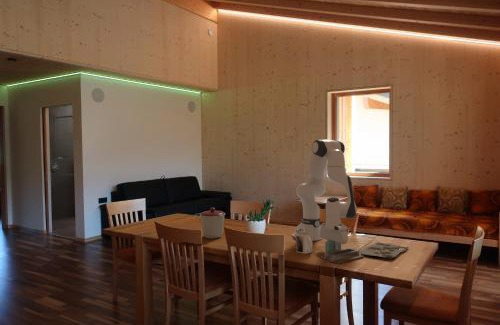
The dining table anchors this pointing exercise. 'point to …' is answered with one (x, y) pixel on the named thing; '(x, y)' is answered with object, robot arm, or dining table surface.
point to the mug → (304, 242)
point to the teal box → (331, 246)
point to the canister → (212, 223)
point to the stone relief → (383, 250)
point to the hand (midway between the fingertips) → (333, 248)
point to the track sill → (342, 255)
